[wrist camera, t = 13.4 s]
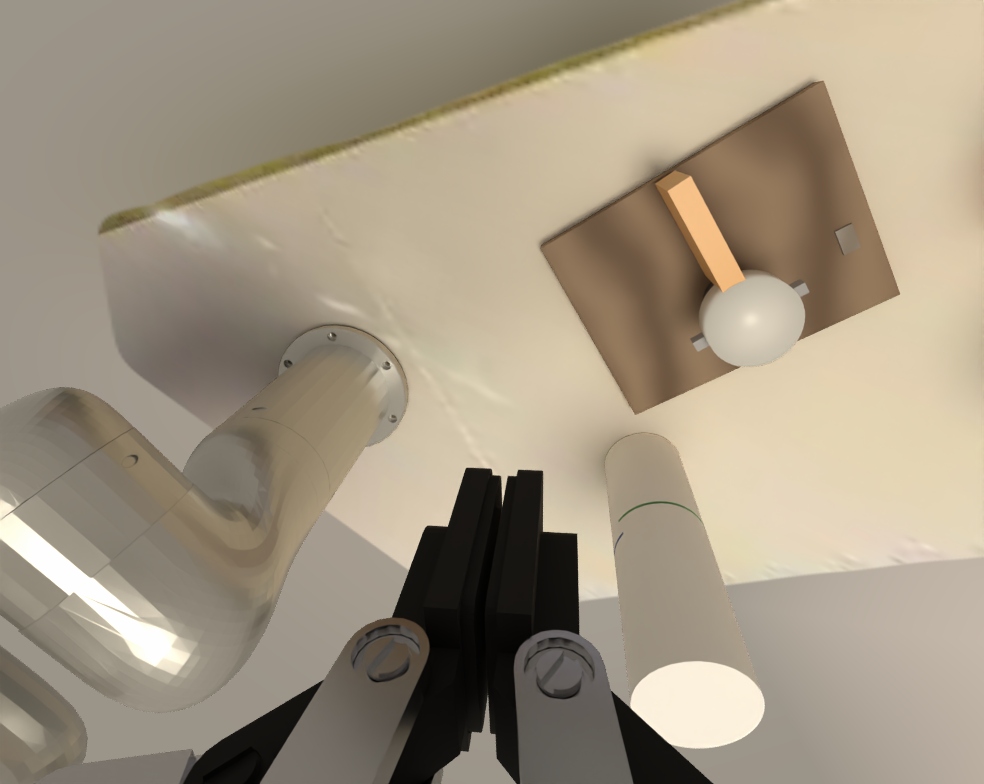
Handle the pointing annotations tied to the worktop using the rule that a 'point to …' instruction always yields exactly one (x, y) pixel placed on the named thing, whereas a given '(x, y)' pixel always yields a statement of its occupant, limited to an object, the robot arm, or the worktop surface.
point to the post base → (749, 235)
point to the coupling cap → (734, 288)
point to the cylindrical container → (675, 604)
